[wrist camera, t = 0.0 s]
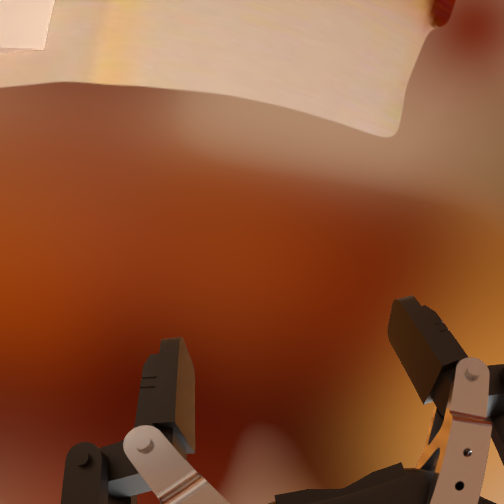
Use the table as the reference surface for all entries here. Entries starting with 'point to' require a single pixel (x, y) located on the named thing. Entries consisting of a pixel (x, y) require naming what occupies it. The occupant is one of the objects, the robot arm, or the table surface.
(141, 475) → the robot arm
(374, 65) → the table surface
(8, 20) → the white side table
